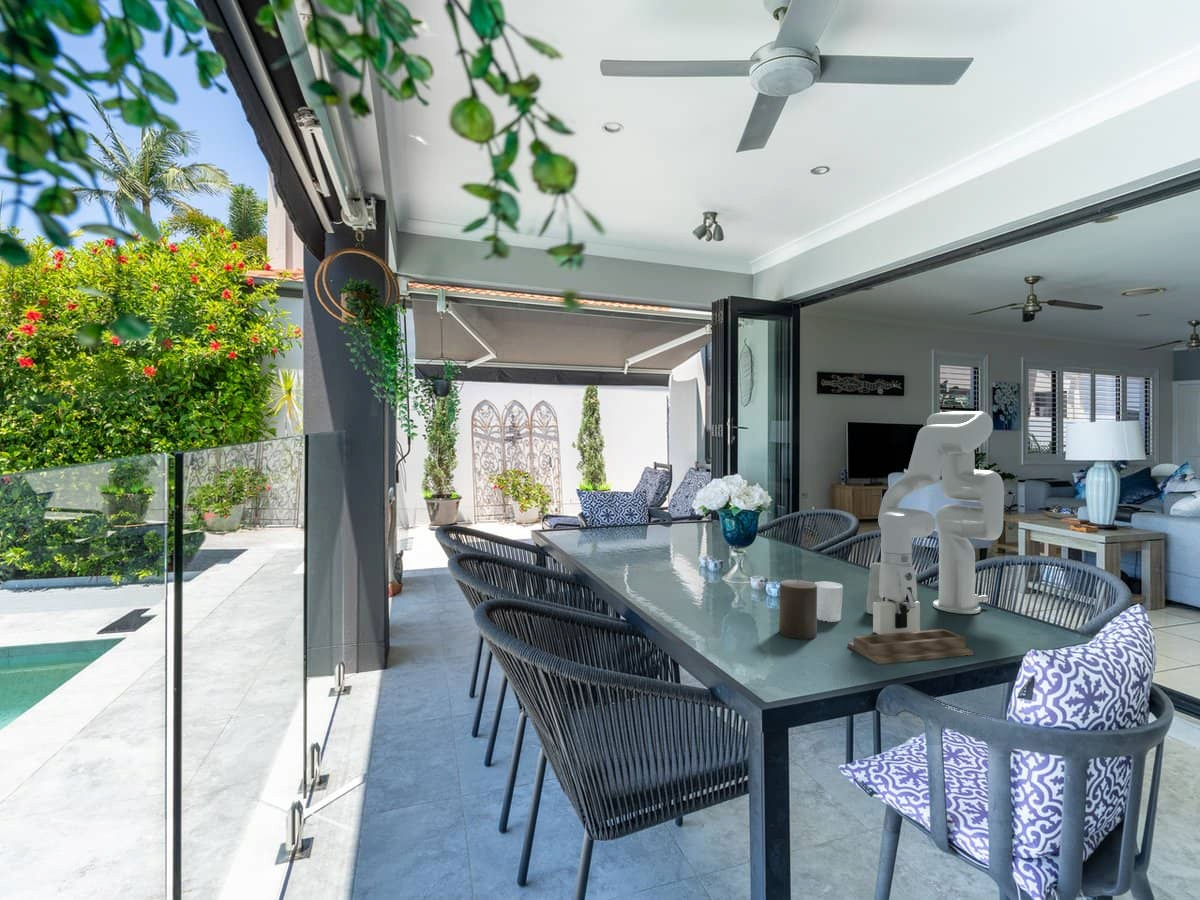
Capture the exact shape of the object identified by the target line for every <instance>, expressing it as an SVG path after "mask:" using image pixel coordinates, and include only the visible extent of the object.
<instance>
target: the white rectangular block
mask: <svg viewBox="0 0 1200 900" xmlns="http://www.w3.org/2000/svg"><path fill="white" fill-rule="evenodd" d="M914 604H915V608H913V609H910V610H909V613H907V627H906V628H896V627H895V613H897V606H896V601H884V602H873V614H872V616H873V617H872V631H873V633H875V634H876V635H879V634H891V633H902V632H914V631H921V607H920V606H921V602H920V601H918V600H917V601H916V602H914ZM903 605H904V604H901V607H902V606H903Z"/></svg>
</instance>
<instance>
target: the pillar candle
mask: <svg viewBox="0 0 1200 900" xmlns="http://www.w3.org/2000/svg"><path fill="white" fill-rule="evenodd" d="M778 619H779V624H778V625H779V626H778V631H779V634H780V635H782V636H784V637H786V638H790V639H794V638H795V639H794V640H801V639H805V640H810V639H815V638H817V637H818V636H817V635H818V633H817V632H818V630H817V629H818V619H817V584H815V582H812V581H808V580H803V579H802V580H801V579H798V578H797V579H784V580H782V581H780V582H779V618H778Z"/></svg>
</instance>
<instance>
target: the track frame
mask: <svg viewBox="0 0 1200 900" xmlns="http://www.w3.org/2000/svg"><path fill="white" fill-rule="evenodd" d="M966 640H967V639H966V637H965V636H962V635H959V634H957V633H956V632H953V631H951V630H948V629H945V628H939V629H929V630H920V631H914V632H902V633H891V634H869V635H868V634H867V635H859V636H853V642H847V648H850V649H851V650H853V651H854V650H855V652H856V653H858V654H860V655H861V656H863V657H864V658H866V659H869V661H871V662H873V663H875V664H877V665H885V664H894V663H904V662H905V663H906V662H914V661H923V660H924V661H925V660H934V659H935V660H937V659H944V658H947V657H948V658H956V656H958V657H966V656H965V655H968V656H974V650H972V649H970V648H967V647H966Z"/></svg>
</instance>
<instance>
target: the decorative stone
mask: <svg viewBox="0 0 1200 900" xmlns="http://www.w3.org/2000/svg"><path fill="white" fill-rule="evenodd" d="M880 565H881V562H872V563H871V564H870V567H869V575H868V582H867V583H868V585H867V592H866V593H867V595H866V613H867V614H870V615H873V602H884V601H883V599H882V598H881V596H880V595H879V573H880Z"/></svg>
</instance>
